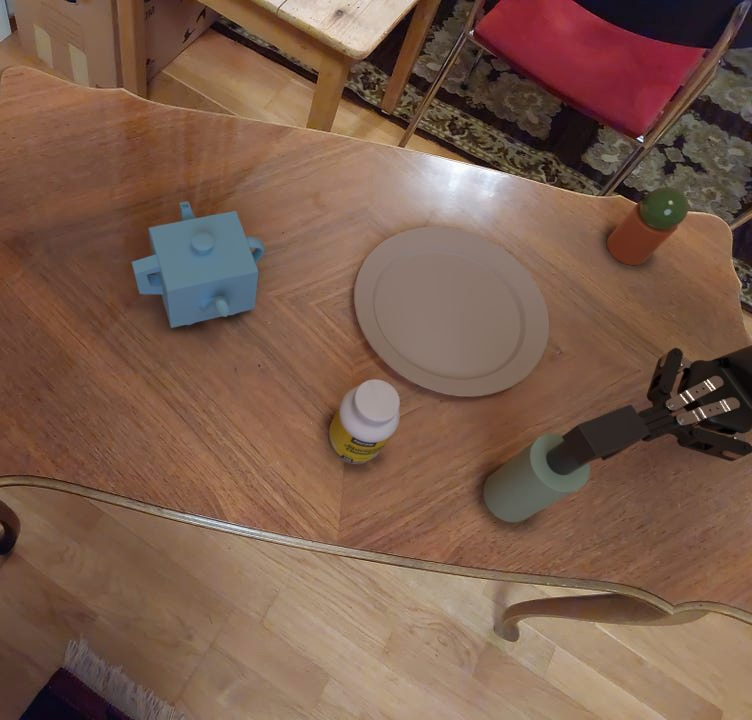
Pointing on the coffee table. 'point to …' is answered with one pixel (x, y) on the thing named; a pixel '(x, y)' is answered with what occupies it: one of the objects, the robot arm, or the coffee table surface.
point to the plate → (451, 311)
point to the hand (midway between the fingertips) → (635, 430)
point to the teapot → (201, 267)
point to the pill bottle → (364, 421)
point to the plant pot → (648, 225)
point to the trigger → (615, 453)
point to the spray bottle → (558, 464)
